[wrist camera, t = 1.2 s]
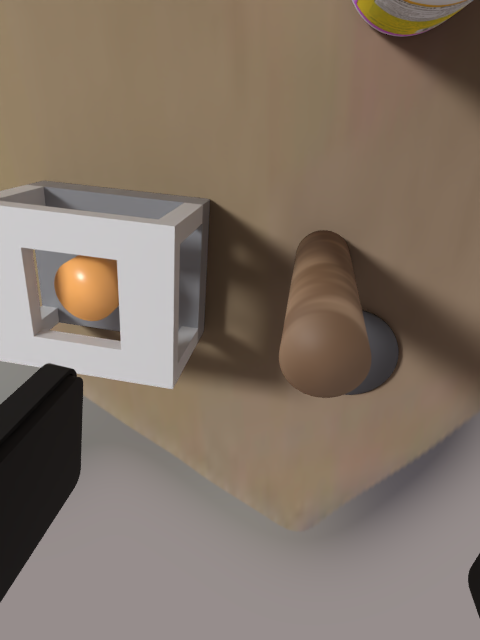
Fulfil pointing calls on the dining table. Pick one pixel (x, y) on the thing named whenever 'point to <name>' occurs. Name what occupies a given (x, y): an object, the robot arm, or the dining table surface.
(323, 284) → the brown wooden rod
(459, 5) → the supplement bottle
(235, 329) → the dining table surface
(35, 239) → the white hollow box
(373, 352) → the mat
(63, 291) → the orange hemisphere
